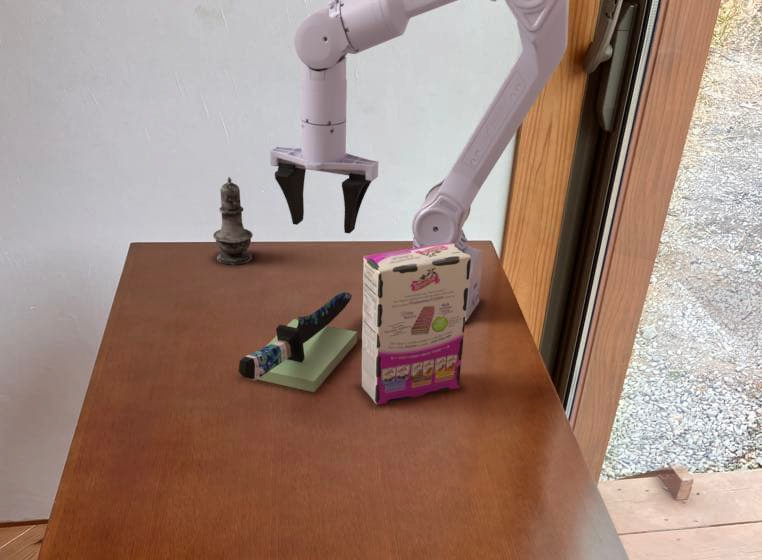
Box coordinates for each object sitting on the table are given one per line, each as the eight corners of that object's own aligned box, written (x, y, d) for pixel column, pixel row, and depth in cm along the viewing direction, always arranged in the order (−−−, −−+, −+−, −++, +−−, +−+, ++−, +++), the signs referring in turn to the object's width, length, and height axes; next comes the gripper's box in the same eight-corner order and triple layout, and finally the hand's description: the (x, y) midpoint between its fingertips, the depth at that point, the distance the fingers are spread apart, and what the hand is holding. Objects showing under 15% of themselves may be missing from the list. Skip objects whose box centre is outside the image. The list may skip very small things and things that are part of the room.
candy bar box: (440, 370, 110) (452, 239, 99) (459, 389, 106) (474, 256, 96) (357, 386, 106) (361, 253, 96) (375, 407, 103) (380, 270, 92)
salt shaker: (210, 263, 133) (203, 181, 126) (221, 249, 138) (215, 169, 130) (248, 267, 133) (243, 185, 125) (258, 252, 137) (254, 172, 130)
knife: (248, 399, 98) (249, 361, 95) (225, 392, 99) (225, 354, 96) (367, 319, 121) (370, 287, 119) (347, 314, 122) (350, 282, 120)
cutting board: (356, 342, 115) (357, 331, 114) (314, 392, 105) (314, 381, 104) (293, 329, 117) (293, 318, 116) (245, 377, 107) (245, 366, 106)
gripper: (258, 120, 111) (262, 227, 120) (366, 134, 107) (362, 245, 116) (281, 107, 116) (284, 211, 125) (385, 120, 112) (381, 227, 121)
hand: (323, 226), depth 121 cm, fingers open, 7 cm apart
